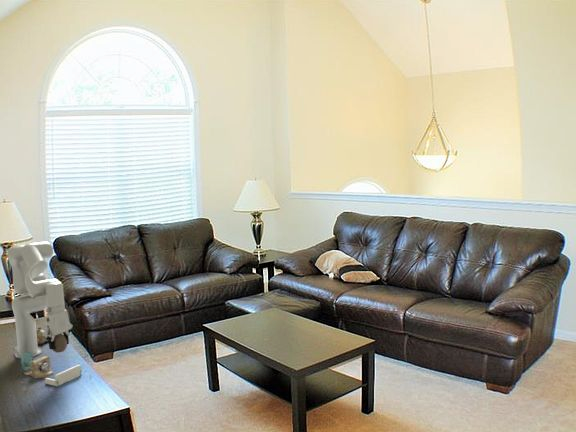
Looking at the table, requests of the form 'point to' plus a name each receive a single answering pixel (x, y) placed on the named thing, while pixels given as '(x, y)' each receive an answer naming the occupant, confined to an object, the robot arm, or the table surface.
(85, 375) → the table surface
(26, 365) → the mallet
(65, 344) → the vase
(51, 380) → the cradle
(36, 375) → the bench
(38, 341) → the ceramic sculpture
